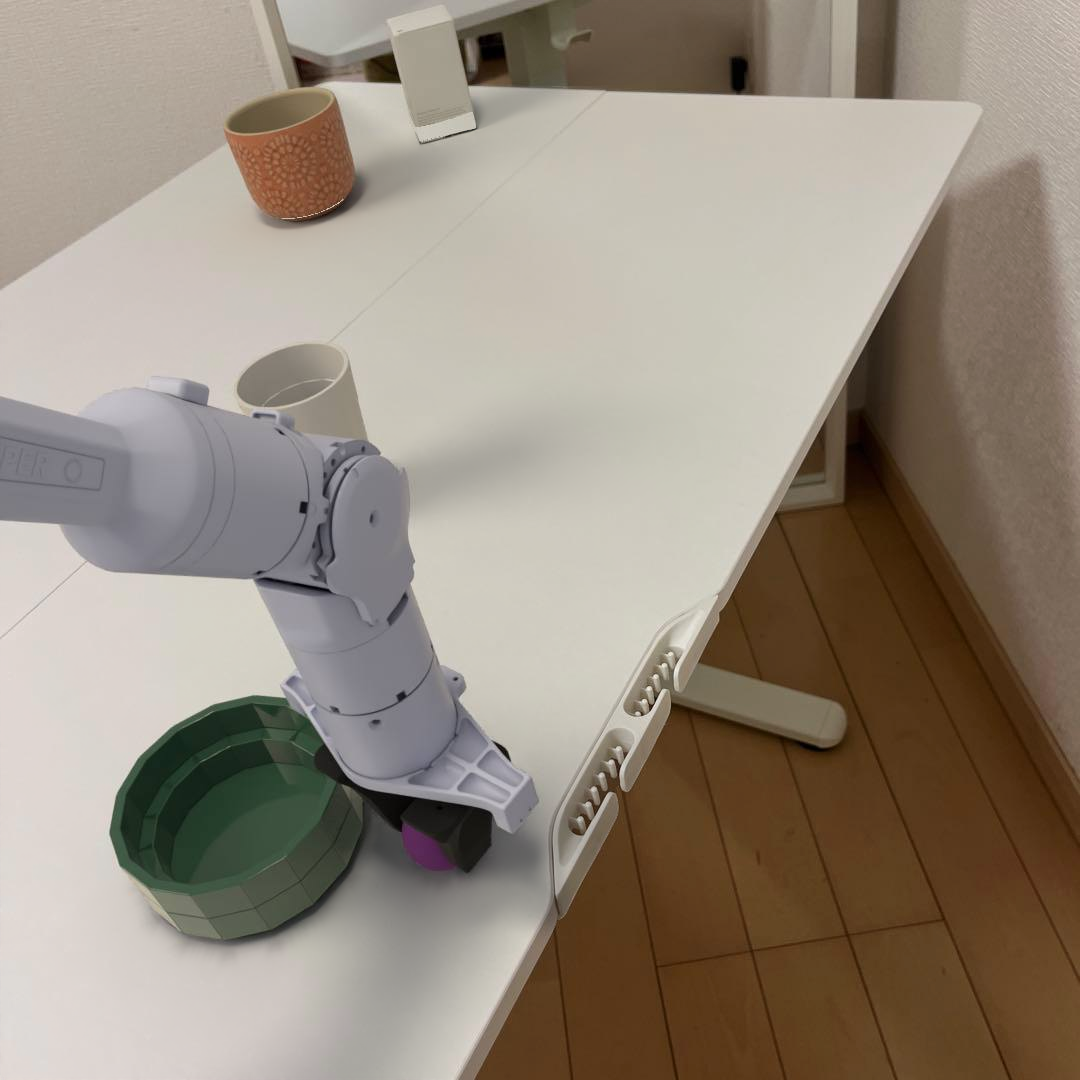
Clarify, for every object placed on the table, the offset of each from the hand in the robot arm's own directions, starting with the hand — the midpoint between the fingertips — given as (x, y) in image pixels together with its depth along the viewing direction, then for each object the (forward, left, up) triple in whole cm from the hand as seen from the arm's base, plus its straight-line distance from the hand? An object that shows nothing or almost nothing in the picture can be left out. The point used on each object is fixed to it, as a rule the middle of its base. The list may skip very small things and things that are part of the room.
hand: (444, 837), depth 57 cm
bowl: (-5, +10, -1) cm, 11 cm away
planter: (+55, +68, -2) cm, 87 cm away
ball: (0, 0, +1) cm, 1 cm away
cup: (+18, +26, -2) cm, 32 cm away
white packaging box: (+77, +66, -2) cm, 101 cm away
